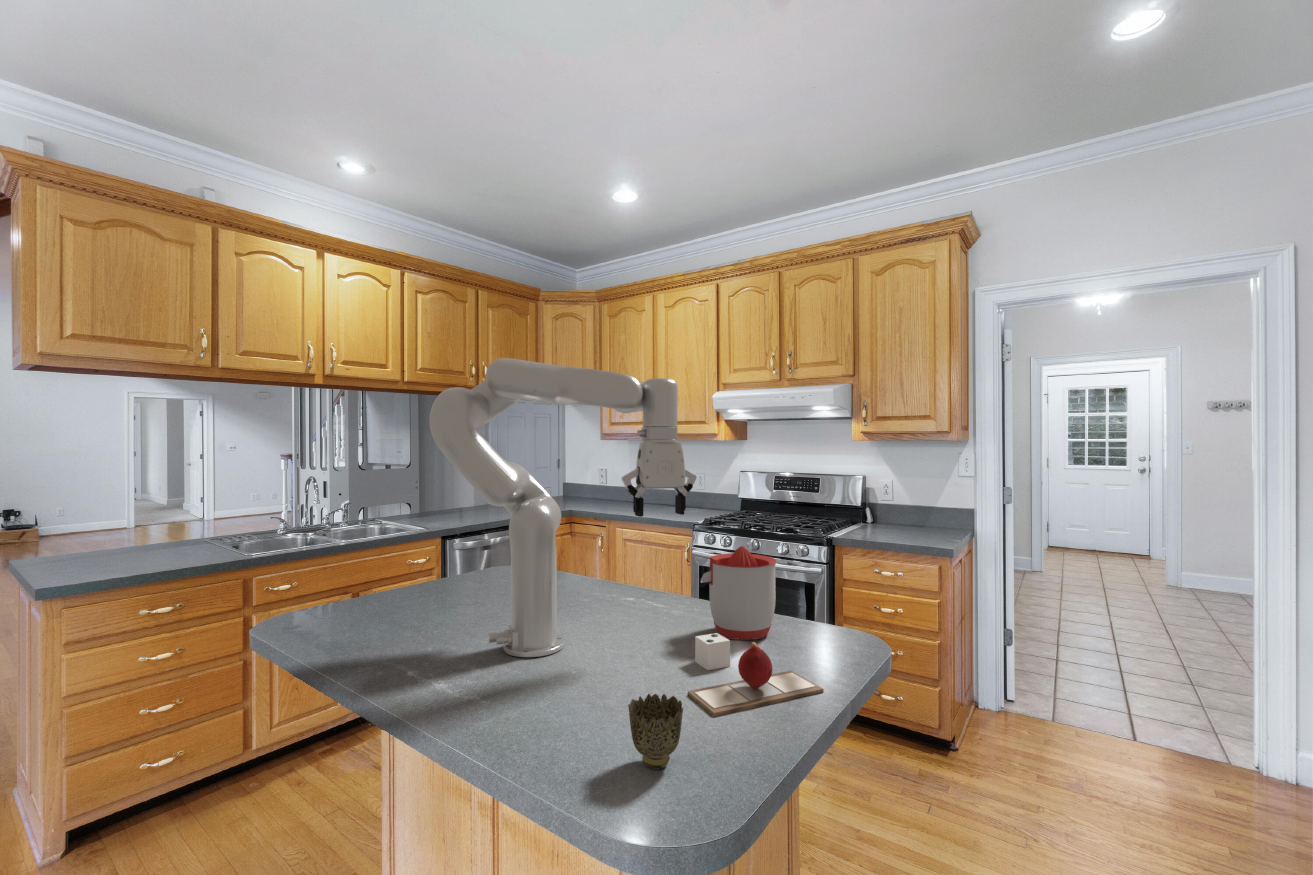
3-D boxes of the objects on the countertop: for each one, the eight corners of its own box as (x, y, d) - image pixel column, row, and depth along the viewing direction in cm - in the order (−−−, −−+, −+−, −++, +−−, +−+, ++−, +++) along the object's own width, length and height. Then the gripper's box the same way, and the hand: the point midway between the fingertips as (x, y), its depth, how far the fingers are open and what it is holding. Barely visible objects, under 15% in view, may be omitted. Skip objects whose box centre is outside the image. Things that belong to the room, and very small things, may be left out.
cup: (627, 750, 81) (627, 693, 81) (679, 748, 82) (679, 691, 82) (629, 781, 74) (629, 718, 74) (686, 778, 74) (686, 715, 75)
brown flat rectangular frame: (714, 716, 91) (714, 711, 91) (687, 694, 100) (687, 690, 100) (823, 692, 101) (823, 687, 101) (791, 673, 109) (791, 669, 109)
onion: (775, 685, 102) (775, 639, 102) (767, 698, 96) (767, 650, 96) (743, 679, 104) (743, 635, 104) (734, 692, 99) (734, 645, 99)
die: (707, 670, 110) (707, 643, 110) (695, 661, 115) (695, 635, 115) (730, 666, 112) (729, 639, 113) (717, 657, 117) (716, 632, 117)
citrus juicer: (699, 622, 141) (699, 540, 141) (770, 622, 140) (770, 540, 141) (702, 644, 125) (702, 551, 125) (782, 644, 125) (782, 552, 125)
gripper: (629, 435, 118) (628, 518, 118) (703, 436, 125) (703, 515, 125) (616, 435, 125) (616, 514, 125) (687, 436, 132) (687, 511, 132)
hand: (659, 514), depth 125 cm, fingers open, 9 cm apart
